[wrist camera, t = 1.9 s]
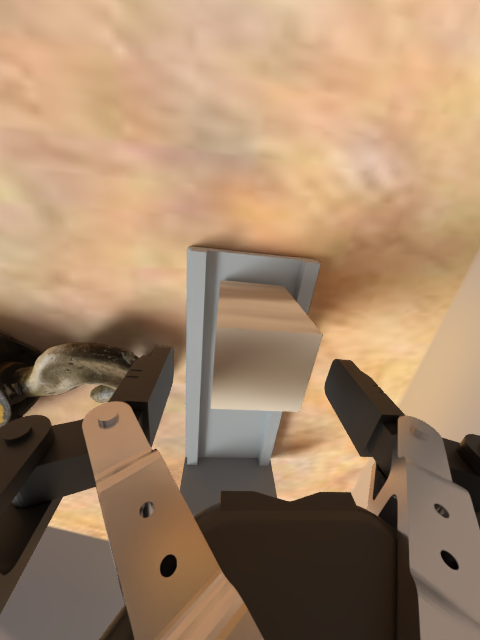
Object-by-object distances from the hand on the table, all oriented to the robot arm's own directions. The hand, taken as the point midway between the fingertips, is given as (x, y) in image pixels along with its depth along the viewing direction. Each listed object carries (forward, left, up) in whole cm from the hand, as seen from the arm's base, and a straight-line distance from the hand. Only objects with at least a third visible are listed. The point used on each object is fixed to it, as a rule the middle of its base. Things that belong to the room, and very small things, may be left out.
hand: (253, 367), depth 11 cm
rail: (+7, 0, -7) cm, 10 cm away
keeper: (-1, 0, -6) cm, 6 cm away
